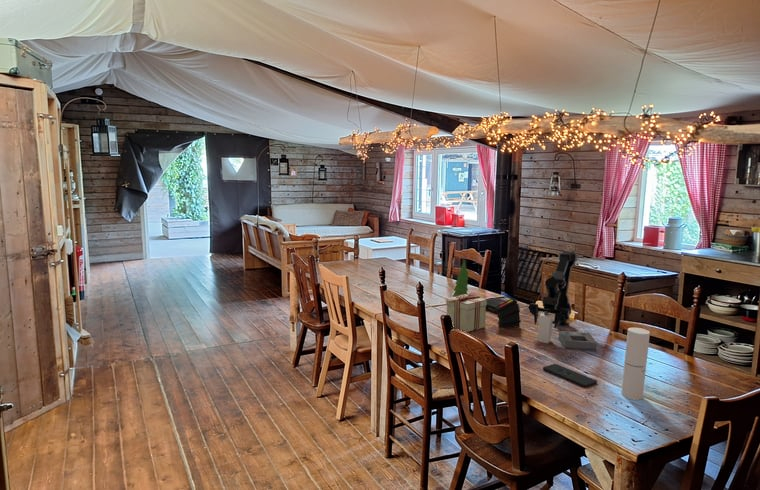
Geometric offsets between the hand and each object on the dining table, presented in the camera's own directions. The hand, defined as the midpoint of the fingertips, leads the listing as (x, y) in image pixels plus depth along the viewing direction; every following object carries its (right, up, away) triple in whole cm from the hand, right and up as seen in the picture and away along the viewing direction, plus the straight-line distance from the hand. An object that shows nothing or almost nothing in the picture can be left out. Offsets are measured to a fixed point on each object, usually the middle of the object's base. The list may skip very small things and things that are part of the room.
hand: (544, 326), depth 241 cm
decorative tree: (-33, +1, +51) cm, 61 cm away
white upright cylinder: (0, -7, +2) cm, 8 cm away
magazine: (-13, -4, +22) cm, 26 cm away
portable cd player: (-9, +1, +56) cm, 56 cm away
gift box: (-36, -4, +21) cm, 42 cm away
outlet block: (+14, -8, -3) cm, 17 cm away
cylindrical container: (+14, -17, -55) cm, 59 cm away
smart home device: (-3, -15, -39) cm, 42 cm away
